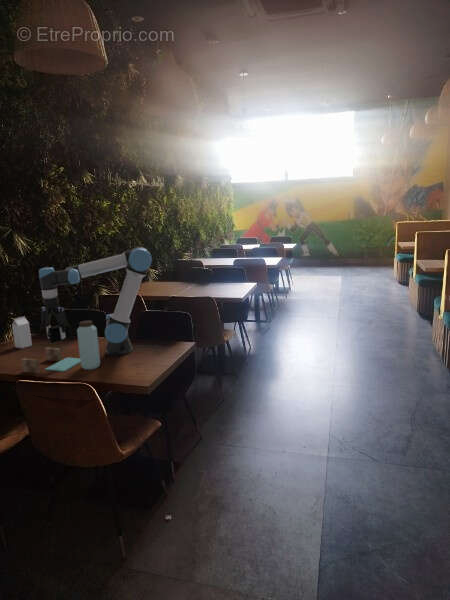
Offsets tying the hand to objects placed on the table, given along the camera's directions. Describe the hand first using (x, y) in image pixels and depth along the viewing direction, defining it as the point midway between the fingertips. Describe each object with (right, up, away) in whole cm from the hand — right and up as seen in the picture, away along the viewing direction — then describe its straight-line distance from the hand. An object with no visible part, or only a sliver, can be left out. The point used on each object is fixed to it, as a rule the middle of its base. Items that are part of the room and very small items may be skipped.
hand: (56, 338), depth 224 cm
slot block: (-9, -16, +3) cm, 18 cm away
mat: (+4, -15, +3) cm, 16 cm away
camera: (+1, -1, +1) cm, 2 cm away
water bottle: (+19, -16, -1) cm, 25 cm away
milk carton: (-37, -9, +39) cm, 54 cm away
